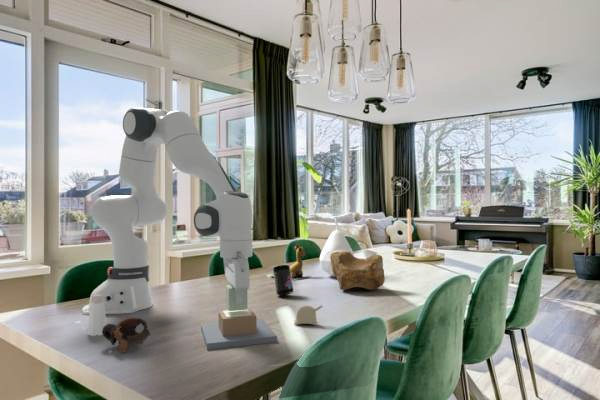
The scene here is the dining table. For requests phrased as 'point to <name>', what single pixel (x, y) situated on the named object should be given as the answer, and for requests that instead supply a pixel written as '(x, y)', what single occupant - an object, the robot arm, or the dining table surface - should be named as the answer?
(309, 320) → the decorative ornament
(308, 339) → the dining table surface
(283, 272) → the supplement container
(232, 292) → the sage block
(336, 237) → the pear ornament
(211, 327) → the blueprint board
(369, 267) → the rough brown rock
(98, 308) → the pepper shaker
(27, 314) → the dining table surface
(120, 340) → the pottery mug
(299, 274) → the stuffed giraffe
